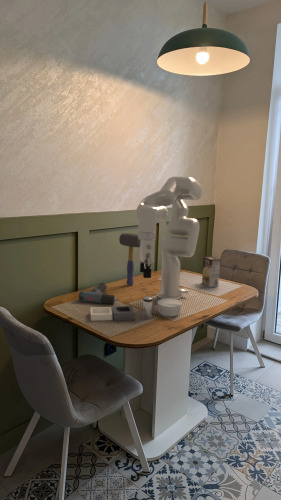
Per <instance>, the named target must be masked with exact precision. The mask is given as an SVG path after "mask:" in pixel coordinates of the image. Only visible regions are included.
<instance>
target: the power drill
mask: <svg viewBox="0 0 281 500" xmlns="http://www.w3.org/2000/svg"><path fill="white" fill-rule="evenodd" d="M107 288H108V286H107V284H106V283H103V282H101V283H99V284H96V286H95V287H94V288H93V289H92V290H91V291H85V290H83V291H81V290H80V292H79V293H78V301H79V302H84V301H85V303H92V302H93V303H94V304H109V305H110V304H112V305H113V304H115V303H117V302H118V298H117V296H115V295H113V294H108V293H105V292H106V291H107Z"/></svg>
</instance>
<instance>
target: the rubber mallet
mask: <svg viewBox="0 0 281 500" xmlns="http://www.w3.org/2000/svg"><path fill="white" fill-rule="evenodd" d="M119 244H120V245H121V246H125V247H128V257H127V258H128V261H127V263H126V264H127V265H126V272H127V275H126V277H127V278H126V286H128V287H132V286H133V285H134V268H135V267H134V266H135V265H134V264H135V263H134V248H140V239H138V233H137V234H135V233H131V232H129V233H127V232H122V233H121V234H120V235H119Z"/></svg>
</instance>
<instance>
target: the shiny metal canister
mask: <svg viewBox="0 0 281 500" xmlns="http://www.w3.org/2000/svg"><path fill="white" fill-rule="evenodd" d="M153 299H154V298H153V297H152V296H148V295H147V296H143V297H142V300H143V301H142V318H143V319H144V320H151V319H152V317H153V315H152V314H153V302H154V301H153Z"/></svg>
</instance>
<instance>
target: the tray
mask: <svg viewBox="0 0 281 500" xmlns="http://www.w3.org/2000/svg"><path fill="white" fill-rule="evenodd" d="M89 308H90V310H89V312H90V321H92V322H93V321H113V316H112V306H97V307H95V306H93V307H92V306H91V307H89Z"/></svg>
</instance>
